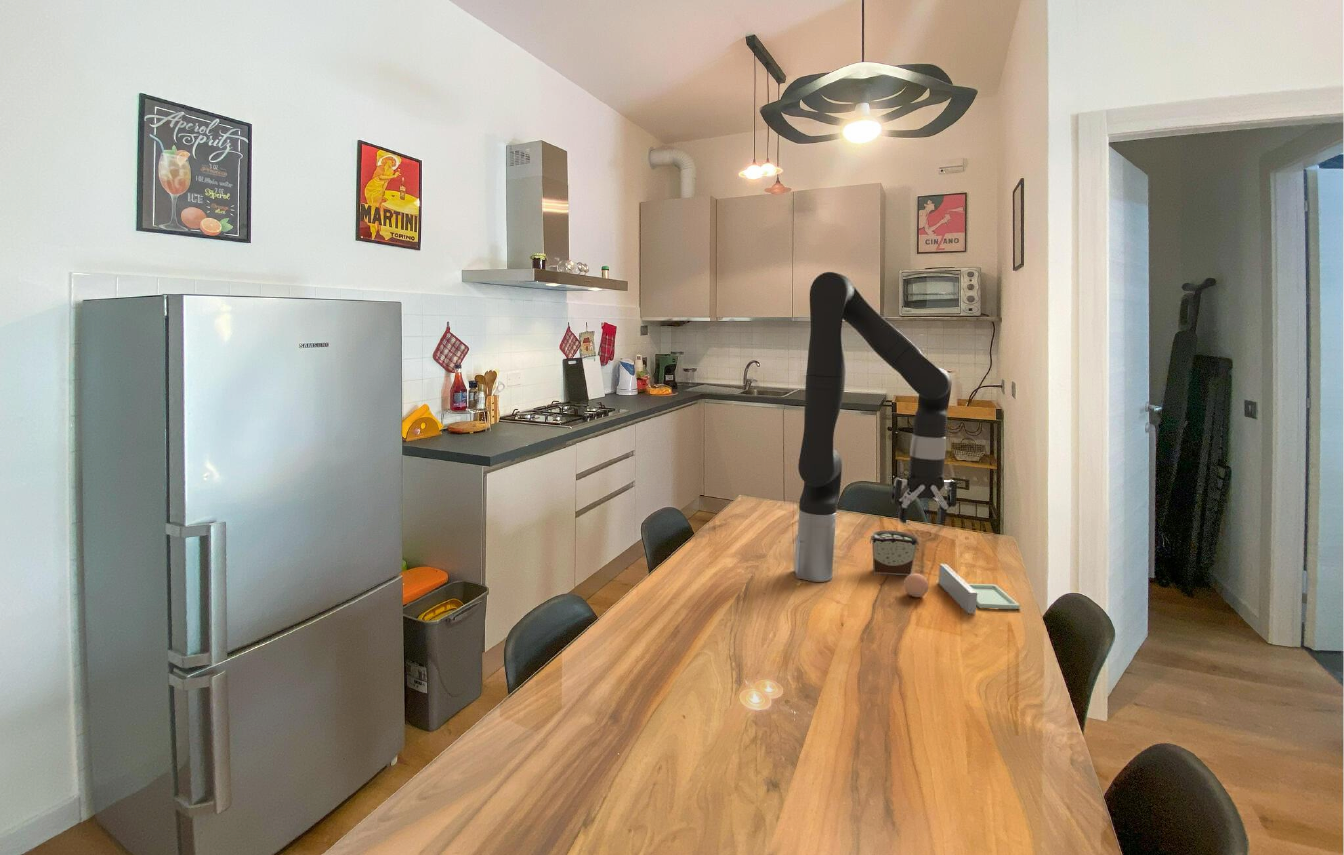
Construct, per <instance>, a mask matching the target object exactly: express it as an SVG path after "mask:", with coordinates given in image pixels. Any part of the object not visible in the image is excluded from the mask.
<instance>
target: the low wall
mask: <svg viewBox="0 0 1344 855" xmlns="http://www.w3.org/2000/svg"><path fill="white" fill-rule="evenodd" d="M938 568H939V569H938V570H939V571H938V581H937V583H938V585H940V587H942V588H943V589H944V591H946V592H948V593H947V594H948V595H949V596H950V597H951V596H952V597H951V598H952V599H953V598H954V599H953V600H954V601H955V600H956V601H955V602H956V603H957V604H958V605H959V604H960V605H959V606H960V607H961V608H962V610H964V609H965V610H964V612H966V611H967V612H966V614H968V613H975V614H976V610H977V606H976V602H977V592H976V591H975V590H974V589H973V588H972V587H971V586H969V585H968V584H969V583H968V582H966V580H964V579H963V578H962V577H961V576H960V575H959V574H958V573H957V572H955V570H953V569H952V568H951V567H950V566H949V565H948V564H947V563H939V567H938Z"/></svg>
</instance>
